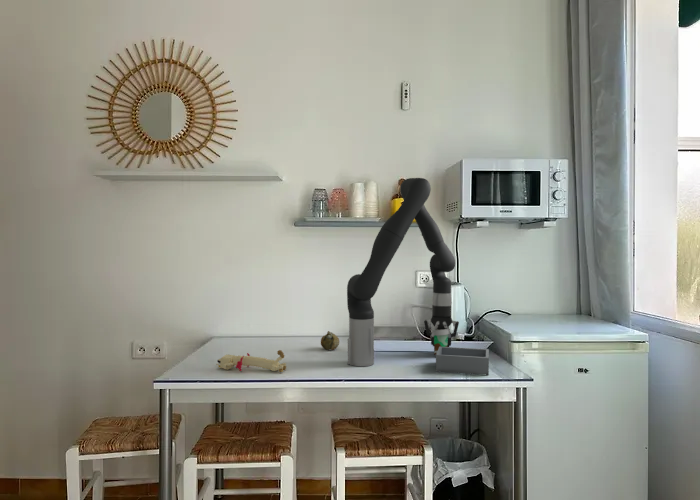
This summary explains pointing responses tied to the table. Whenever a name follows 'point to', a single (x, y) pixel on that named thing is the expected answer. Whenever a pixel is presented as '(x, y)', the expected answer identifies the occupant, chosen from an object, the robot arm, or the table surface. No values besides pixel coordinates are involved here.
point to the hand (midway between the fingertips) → (441, 346)
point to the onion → (329, 341)
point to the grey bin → (462, 360)
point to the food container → (440, 339)
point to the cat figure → (252, 362)
